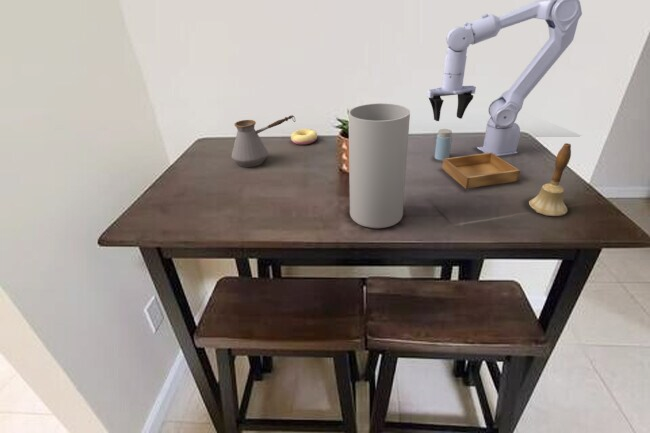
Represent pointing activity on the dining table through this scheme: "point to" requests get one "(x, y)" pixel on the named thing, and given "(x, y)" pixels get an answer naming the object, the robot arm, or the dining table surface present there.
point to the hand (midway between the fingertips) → (447, 118)
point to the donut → (304, 136)
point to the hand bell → (553, 188)
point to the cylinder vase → (377, 163)
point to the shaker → (443, 144)
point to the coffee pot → (251, 143)
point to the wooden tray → (480, 170)
